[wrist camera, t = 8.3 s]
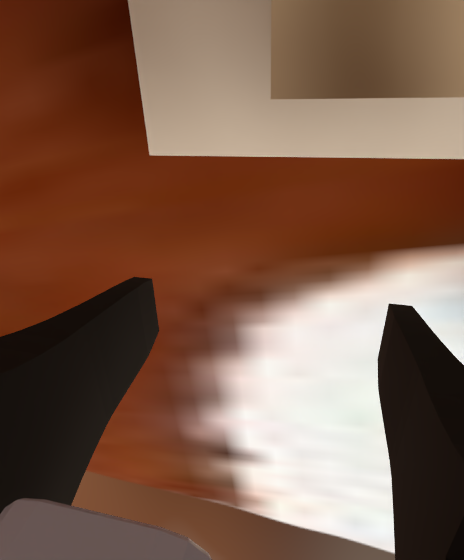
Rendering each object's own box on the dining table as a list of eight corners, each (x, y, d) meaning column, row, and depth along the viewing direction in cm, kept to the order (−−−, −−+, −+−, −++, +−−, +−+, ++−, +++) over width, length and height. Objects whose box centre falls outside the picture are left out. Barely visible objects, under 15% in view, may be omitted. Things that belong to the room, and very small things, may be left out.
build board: (601, -256, 12) (684, -351, 9) (492, 156, 18) (521, 179, 15) (110, -169, 16) (55, -217, 13) (154, 152, 22) (123, 171, 19)
